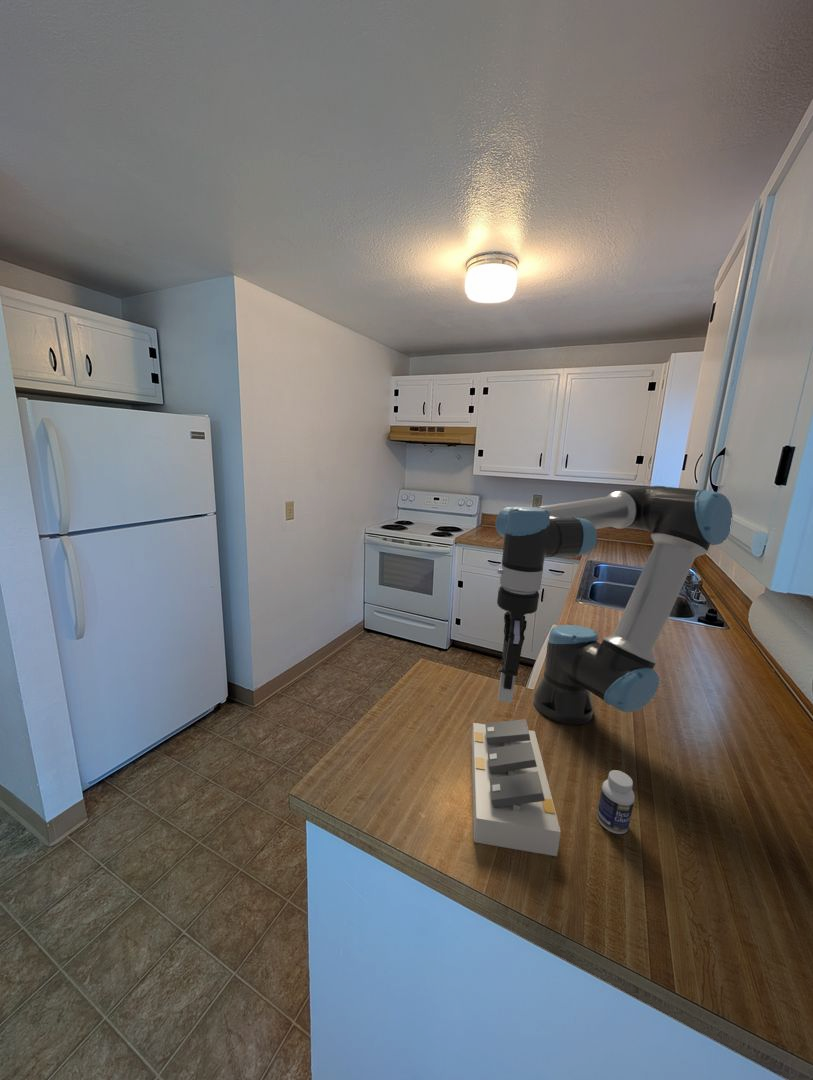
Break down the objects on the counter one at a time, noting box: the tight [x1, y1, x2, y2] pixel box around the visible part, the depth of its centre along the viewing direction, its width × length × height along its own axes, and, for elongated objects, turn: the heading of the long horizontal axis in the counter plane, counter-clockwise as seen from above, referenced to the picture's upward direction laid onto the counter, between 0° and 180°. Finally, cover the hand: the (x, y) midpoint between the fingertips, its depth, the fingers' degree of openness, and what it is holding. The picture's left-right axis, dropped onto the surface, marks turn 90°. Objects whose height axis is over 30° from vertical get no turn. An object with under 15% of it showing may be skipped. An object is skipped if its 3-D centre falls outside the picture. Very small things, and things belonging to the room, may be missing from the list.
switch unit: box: [470, 722, 562, 857], centre depth 82 cm, size 14×26×6 cm, turn 172°
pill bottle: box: [596, 769, 636, 835], centre depth 76 cm, size 5×5×10 cm
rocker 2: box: [487, 742, 537, 774], centre depth 81 cm, size 9×5×2 cm, turn 82°
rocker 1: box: [484, 718, 530, 744], centre depth 89 cm, size 9×5×2 cm, turn 82°
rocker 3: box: [490, 771, 545, 808], centre depth 74 cm, size 9×5×2 cm, turn 82°
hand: (505, 699), depth 82 cm, fingers closed
